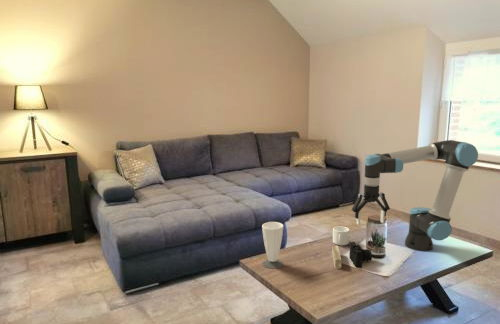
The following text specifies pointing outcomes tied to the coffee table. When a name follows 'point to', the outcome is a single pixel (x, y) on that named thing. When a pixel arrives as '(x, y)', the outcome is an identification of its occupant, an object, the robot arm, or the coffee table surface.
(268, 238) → the cup
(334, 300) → the coffee table surface
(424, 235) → the robot arm
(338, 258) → the board
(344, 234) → the mug
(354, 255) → the camera
